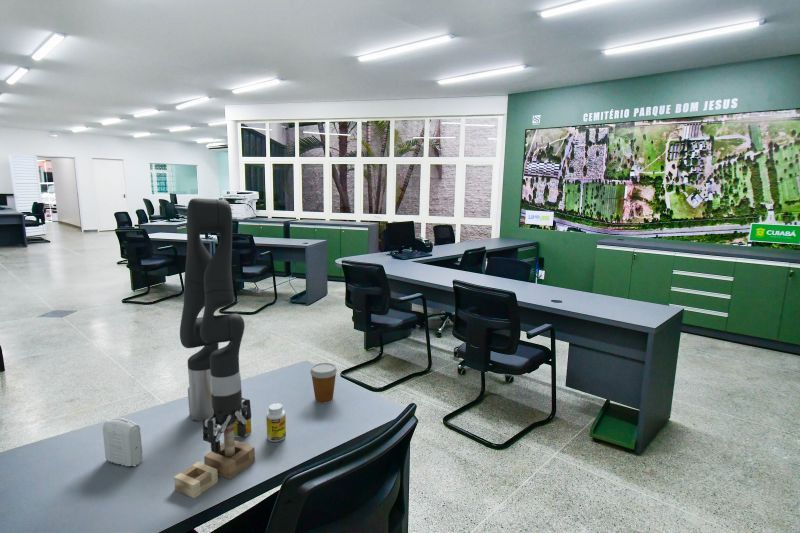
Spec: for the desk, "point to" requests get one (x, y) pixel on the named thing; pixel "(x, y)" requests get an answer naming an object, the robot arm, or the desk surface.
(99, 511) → the desk surface
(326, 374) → the disposable coffee cup
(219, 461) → the brown wooden square frame
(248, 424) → the supplement bottle
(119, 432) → the photo printer
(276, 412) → the supplement bottle
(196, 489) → the light wood hollow block
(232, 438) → the wooden peg
